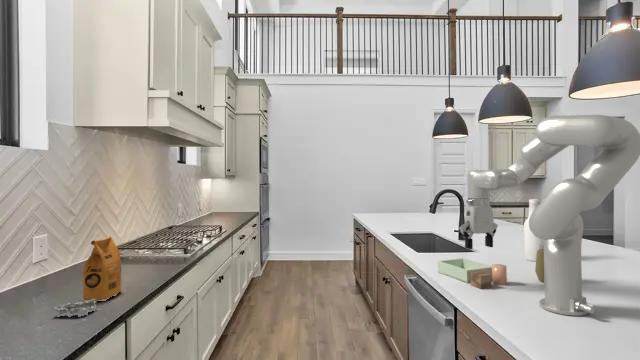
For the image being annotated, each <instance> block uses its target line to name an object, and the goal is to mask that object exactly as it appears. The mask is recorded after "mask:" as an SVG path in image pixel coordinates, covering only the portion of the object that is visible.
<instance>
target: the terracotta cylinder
mask: <svg viewBox="0 0 640 360" xmlns="http://www.w3.org/2000/svg"><path fill="white" fill-rule="evenodd" d="M491 266H492V280H491V284H492V285H495V286H501V287H502V286H503V287H504V286H507V285H508V282H507V281H508V280H507V279H508V277H507V275H508V273H507V265H506V264H505V265H504V264H500V263H494V264H491Z"/></svg>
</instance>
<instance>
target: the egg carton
mask: <svg viewBox="0 0 640 360" xmlns="http://www.w3.org/2000/svg"><path fill="white" fill-rule="evenodd" d="M97 301H98V299H91V300H89V301H85V300H84V301H83V302H81V301H79V302H75V303H71V302H67V303H65V302H64V303H63V304H60V305H57V306H54V307H53V308H54V309H55V313H57V315H60V314H63V313H67V314H73V313H78V314H84V313H88V312H89V310H91V309H95V308H96V309H97V304H96V303H98V302H97ZM80 307H85V308H82V309H76V308H80Z"/></svg>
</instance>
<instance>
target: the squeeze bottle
mask: <svg viewBox="0 0 640 360" xmlns="http://www.w3.org/2000/svg"><path fill="white" fill-rule="evenodd" d="M544 242H545V240H543V244H540V249H539V250H537V256H536V262H535V268H534V269H535V270H534V271H535V275H536V277H537V279H538V281H540V282H541V283H545V282H544Z"/></svg>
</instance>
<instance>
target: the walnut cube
mask: <svg viewBox="0 0 640 360" xmlns="http://www.w3.org/2000/svg"><path fill="white" fill-rule="evenodd" d="M470 286H472V287H473V288H476V289H479V290H484V289H492V280H491V274H488V273H485V272H482V271H480V272H472V273H471V283H470Z"/></svg>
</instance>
